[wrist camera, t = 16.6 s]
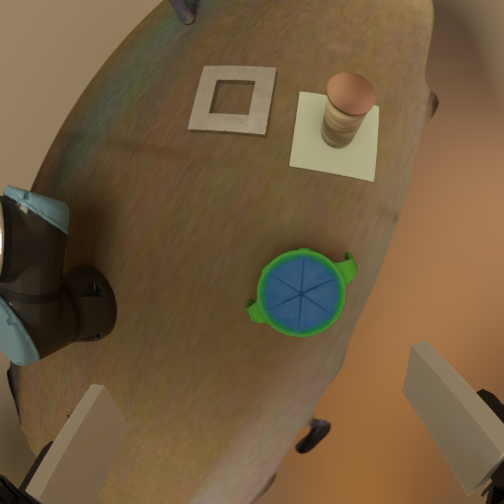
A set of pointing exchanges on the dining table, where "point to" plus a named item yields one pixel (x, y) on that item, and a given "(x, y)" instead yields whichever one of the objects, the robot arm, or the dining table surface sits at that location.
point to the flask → (186, 9)
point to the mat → (325, 157)
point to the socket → (234, 123)
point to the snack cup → (301, 292)
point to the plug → (346, 108)
